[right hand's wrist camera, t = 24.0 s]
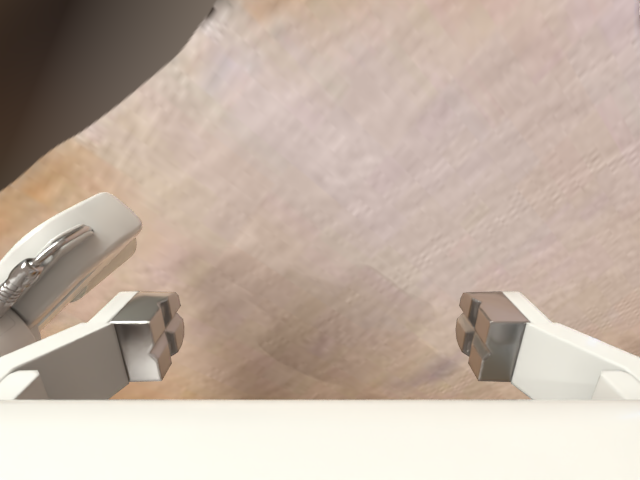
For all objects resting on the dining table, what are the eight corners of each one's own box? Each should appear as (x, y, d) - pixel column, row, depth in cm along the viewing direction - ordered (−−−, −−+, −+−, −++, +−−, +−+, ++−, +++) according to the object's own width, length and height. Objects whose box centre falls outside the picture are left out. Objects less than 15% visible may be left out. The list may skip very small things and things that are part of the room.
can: (116, 269, 38) (63, 313, 30) (79, 236, 36) (14, 273, 28) (146, 243, 36) (99, 282, 29) (109, 208, 35) (50, 239, 27)
